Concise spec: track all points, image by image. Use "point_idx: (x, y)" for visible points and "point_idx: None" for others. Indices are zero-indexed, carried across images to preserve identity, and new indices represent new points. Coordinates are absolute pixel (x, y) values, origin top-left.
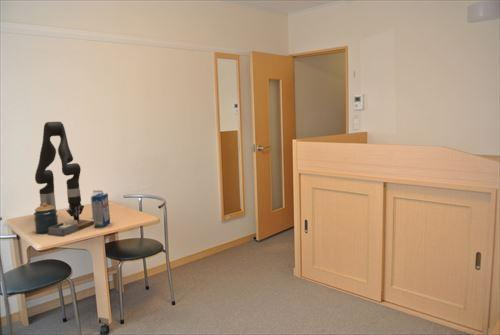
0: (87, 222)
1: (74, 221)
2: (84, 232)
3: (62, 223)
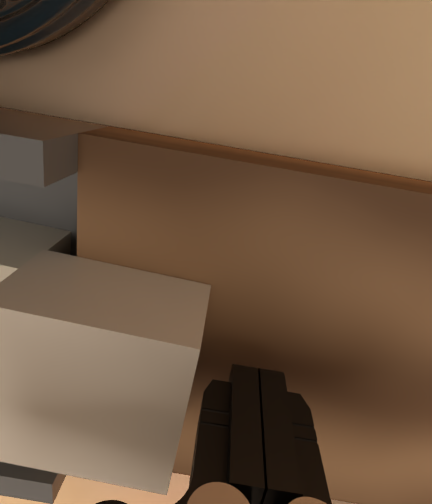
0: (336, 478)
1: (92, 471)
2: (68, 496)
3: (21, 180)
